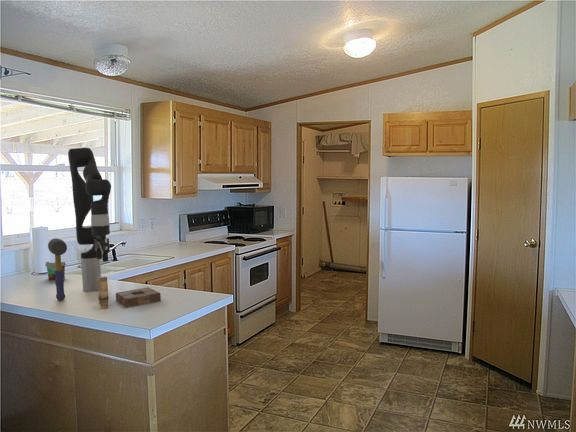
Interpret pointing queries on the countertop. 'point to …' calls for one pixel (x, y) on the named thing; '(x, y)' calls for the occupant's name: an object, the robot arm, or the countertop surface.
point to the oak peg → (103, 292)
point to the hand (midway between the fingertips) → (102, 260)
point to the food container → (54, 269)
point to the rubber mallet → (58, 265)
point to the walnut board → (138, 297)
